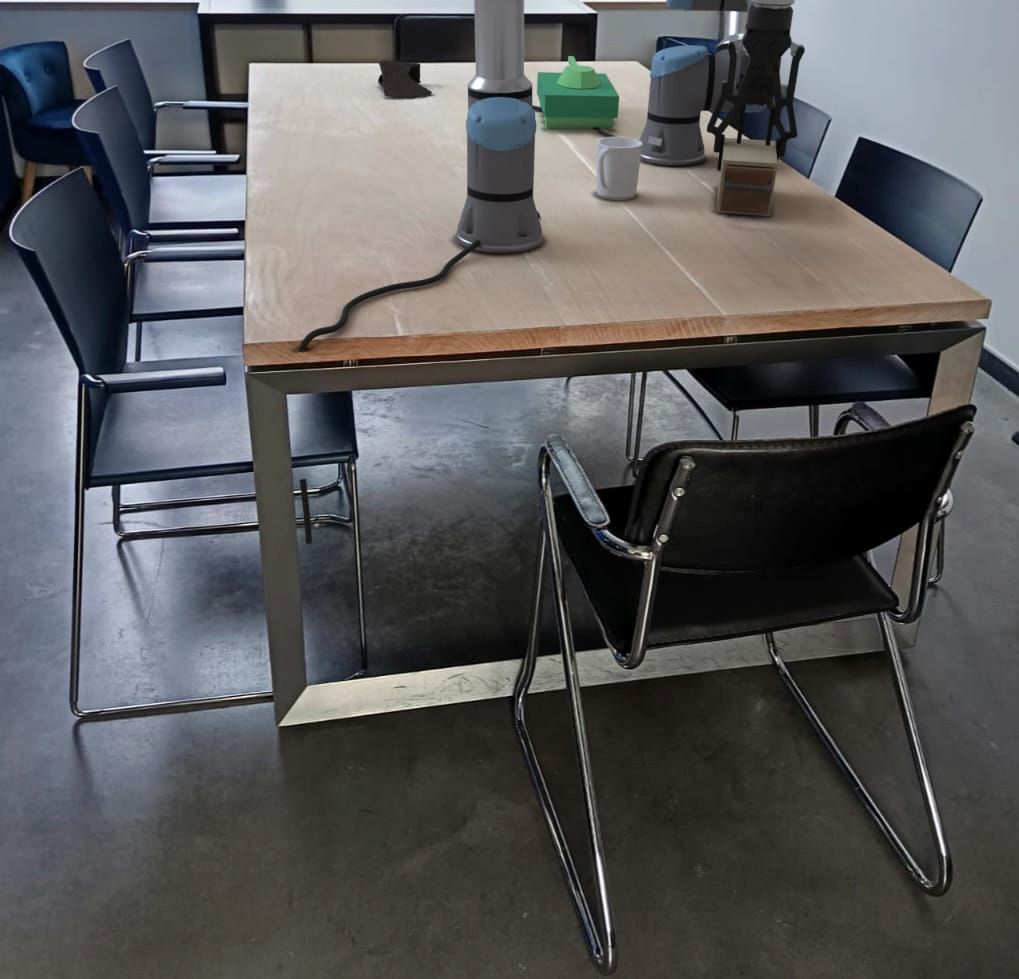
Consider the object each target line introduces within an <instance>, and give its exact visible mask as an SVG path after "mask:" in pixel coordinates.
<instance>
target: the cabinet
mask: <svg viewBox="0 0 1019 979" xmlns="http://www.w3.org/2000/svg"><path fill="white" fill-rule="evenodd" d="M728 165H743V166H757V167H769V169H774V174H773V180H772V194H770V201H769V208H768V214H760V213H746V212H732V211H720V208H721V200H722V192H723V184H724V175H725V167H726V166H728ZM778 166H779V161H778V162H777V153H776V140H771V142H770V146H766V139H750V138H742V139H741V144H737V138H734V137H725V140H724V148H723V156H722V165H721V171H719V176H718V177H719V178H718V184H717V185H718V186H717V203H716V213H718V214H719V213H720V214H732V215H746V216H761V217H770V216H771V212H772V205H773V199H774V192H775V183H776V177H777V172H776V171H777V170H778Z"/></svg>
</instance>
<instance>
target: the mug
mask: <svg viewBox="0 0 1019 979" xmlns="http://www.w3.org/2000/svg"><path fill="white" fill-rule="evenodd" d="M641 151H642V142H641V141H640V139H638V138H633V137H629V136H628V137H627V136H618V137H606V136H604V137H600V138H598V139H597V140H596V181H595V182H596V183H595V192H596V195H597V196H598V197H600V198H603V199H606V200H611V201H613V200H614V201H624V200H630V199H633V198H635V197H636V196H637V190H638V189H637V188H638V182H639V174H640V165H641V160H640V159H641Z"/></svg>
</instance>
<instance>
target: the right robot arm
mask: <svg viewBox="0 0 1019 979" xmlns="http://www.w3.org/2000/svg"><path fill="white" fill-rule="evenodd" d="M665 3H666V6H667V8H669V9H671V10H682V11H684V12H689V11H697V12H698V11H699V12H700V11H702V12H703V11H705V12H709V11H710V12H725V17H724V18H725V19H724V32H723V33H724V34H723V39H722V40H721V41H720V42H719V43H718V44H716V47H715V53H713V54H712V53H709V51H708V48H707V47H706V46H704V45H693V44H691V45H690V44H689V45H678V46H672V47H671V46H670V47H668V48H667V47H666V48H664V49H661V50H658V51H657V52H656V53H655V54H654V56H652V61H651V68H650V69H651V70H650V73H649V78H650V81H649V82H650V83H649V93H648V104H647V113H646V114H647V115H646V122H645V125H644V127H643V130H642V132H641V135H640V137H639V140H640V141H641V142H642V151H641V159H640V161H641V162H645V163H648V164H652V165H657V166H663V167H665V166H666V167H686V166H693V165H698V164H700V163H702V162H704V160H705V152H706V151H705V146H704V139H703V135H702V129H701V113H702V112H712V114H711V116H710V119H709V121H708V123H707V126H706V132H707V133H708V134H712V135H713V136H714V143H713V152H714V153H717V154H718V156H717V166H716V171H718V172H720V171H721V165H722V156H723V148H724V140H725V138H726V134H723V133H724V132H725V131H726V130H727V128H728V127H729V126H730V125H731V123H732V122H733V115H734V107H735V106H734V104H733V103H731V102H728V101H726V89H727V80H728V71H729V62H730V55H729V51H728V43H729V42H730V41H733V42H735V41H738V40H741V39H742V38H743V36H744V35H745V33H746V29H747V21H748V13H749V7H751V5H753V3H752V2H751V1H750V0H665ZM749 59H750V56H749V54H748V53H747V51H746V49H745V47H744V46H742V47H741V51H740V53H739V54H737V62H736V71H735V80H734V89H733V94H734V95H736V96H737V93H738V91H739V88H740V85H741V82H742V79H743V77H744V74H745V71H746V68H747V65H748V62H749ZM781 65H782V57H781V58H780V59H779V70H780V71H781ZM787 88H788V84H783V83H781V94H782V97H783V98H784V97H786V94H787ZM773 98H775V96H774V84H773V73H772V63H766V62H761V63H757V64H756V66H755V69H754V71H753V74H752V77H751V80H750V83H749V85H748V88H747V91H746V94H745V96H744V99H743V102H742V104H746V108H745V114H746V113H761V112H763V111H764V110H765V109H766V108H767V109H768V111H769V113H770V106H771V105H773V106H775V101H774V99H773ZM793 103H794V102H793ZM793 103H792V105H787V106H786V112H787V119H788V124H789V130H786V129H785V126H784V124H783V121H782V119H781V118H780V123H779V125H778V126H775V128H776V130H777V133H778V135H779V137H776V138H775V139H776V140H775V144H776V153H777V162H778V163H779V157H780V158H784V157H785V155H786V150H787V143H788V141H789V140H790V139H795V138H797V137H798V130H797V123H796V114H795V109H794V104H793ZM532 108H533V110H534V111H538V112H542V113H543V111H542V108H541V106H539V105H538V106H537V105H533V104H532ZM721 113H727V114H726V115H725V117H724V118H723V119H722V120H721V122H720V123H719V125H718V126H716V124H717V122H718V120H719V117H720V115H721ZM592 130H593V131H595V132H596V133H597V134H599V135H602V136H603V137H619V136H618V135H615V134H611V133H609V132H607V131H605V130H604V129H600V128H598V127H595V128H593V129H592ZM776 173H777V171H776Z"/></svg>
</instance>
